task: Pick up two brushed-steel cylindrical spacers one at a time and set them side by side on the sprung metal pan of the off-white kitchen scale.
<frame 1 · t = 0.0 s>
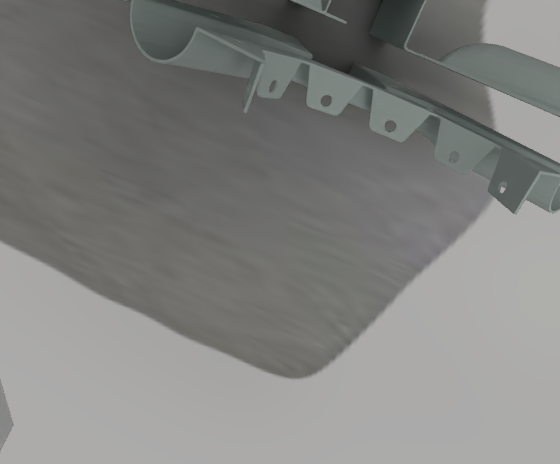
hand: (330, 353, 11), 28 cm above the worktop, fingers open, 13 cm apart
bracket: (336, 23, 35), on the worktop
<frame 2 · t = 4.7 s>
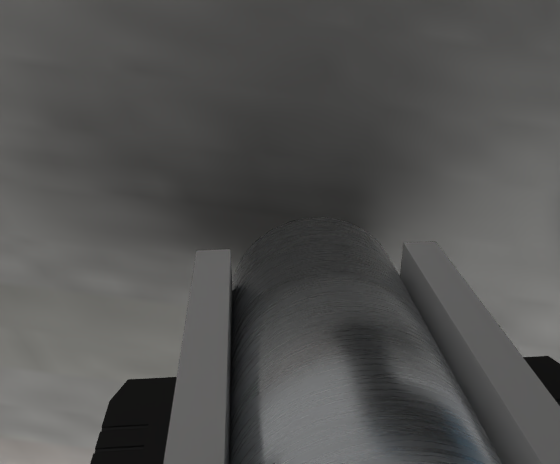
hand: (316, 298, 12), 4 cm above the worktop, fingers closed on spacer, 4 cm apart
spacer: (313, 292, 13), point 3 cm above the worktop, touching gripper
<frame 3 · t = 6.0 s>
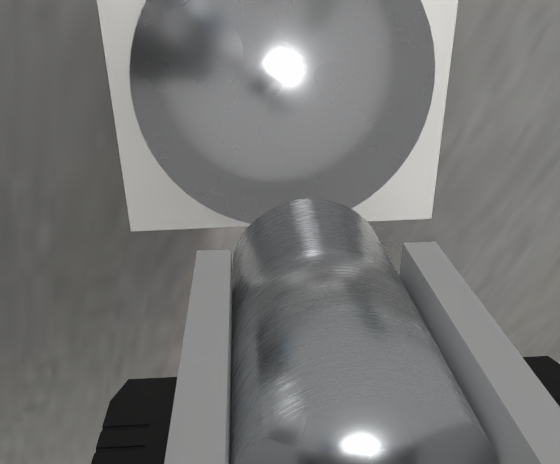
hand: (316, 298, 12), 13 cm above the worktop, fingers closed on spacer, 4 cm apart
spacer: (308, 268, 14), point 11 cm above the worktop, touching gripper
pan: (284, 86, 20), point 3 cm above the worktop, slide at -1.0 cm
scale: (277, 47, 22), on the worktop
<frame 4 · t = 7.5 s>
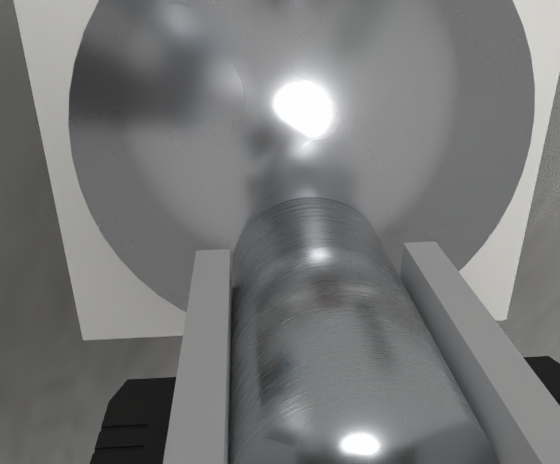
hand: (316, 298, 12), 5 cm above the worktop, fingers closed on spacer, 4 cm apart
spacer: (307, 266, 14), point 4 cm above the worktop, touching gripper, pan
pan: (304, 144, 13), point 3 cm above the worktop, slide at -1.2 cm, touching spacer
scale: (293, 81, 15), on the worktop
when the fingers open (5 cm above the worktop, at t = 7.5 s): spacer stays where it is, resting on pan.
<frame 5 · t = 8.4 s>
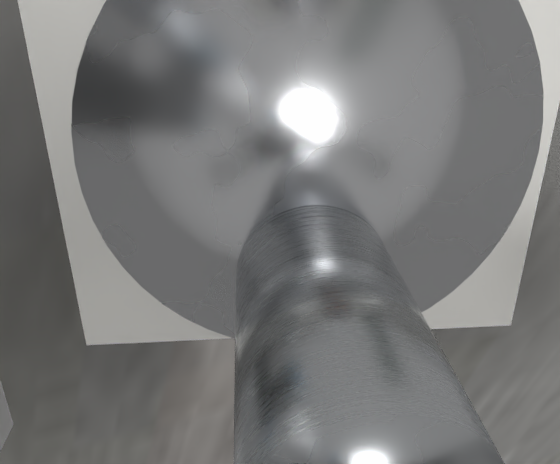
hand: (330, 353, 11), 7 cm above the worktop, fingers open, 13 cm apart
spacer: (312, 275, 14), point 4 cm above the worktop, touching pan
pan: (310, 151, 13), point 3 cm above the worktop, slide at -1.1 cm, touching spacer
scale: (297, 86, 15), on the worktop
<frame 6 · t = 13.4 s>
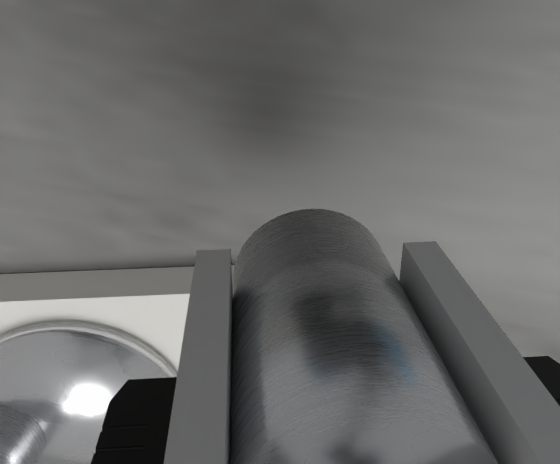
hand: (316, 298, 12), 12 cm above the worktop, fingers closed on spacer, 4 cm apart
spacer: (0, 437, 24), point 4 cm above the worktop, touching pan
pan: (74, 424, 25), point 3 cm above the worktop, slide at -1.1 cm, touching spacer
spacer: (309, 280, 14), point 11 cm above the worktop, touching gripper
scale: (110, 377, 28), on the worktop
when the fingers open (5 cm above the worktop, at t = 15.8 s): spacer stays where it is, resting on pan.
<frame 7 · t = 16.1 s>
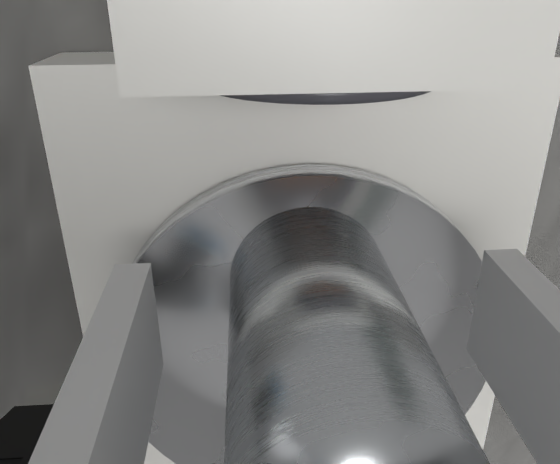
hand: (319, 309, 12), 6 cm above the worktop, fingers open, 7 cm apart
pan: (305, 349, 15), point 3 cm above the worktop, slide at -1.1 cm, touching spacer, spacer
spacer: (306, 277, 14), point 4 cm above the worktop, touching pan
scale: (295, 266, 18), on the worktop
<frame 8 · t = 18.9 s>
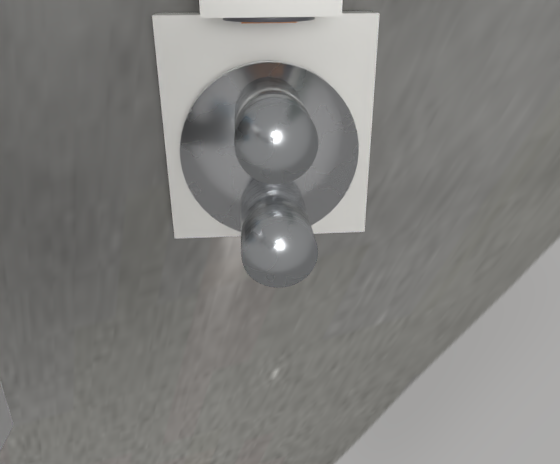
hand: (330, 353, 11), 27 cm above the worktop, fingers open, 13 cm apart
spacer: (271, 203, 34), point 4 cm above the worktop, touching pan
pan: (269, 153, 33), point 3 cm above the worktop, slide at -1.1 cm, touching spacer, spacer
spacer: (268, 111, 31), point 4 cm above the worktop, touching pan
scale: (267, 124, 36), on the worktop
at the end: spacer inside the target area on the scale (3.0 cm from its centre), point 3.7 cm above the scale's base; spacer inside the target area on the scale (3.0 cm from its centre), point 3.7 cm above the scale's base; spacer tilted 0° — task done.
